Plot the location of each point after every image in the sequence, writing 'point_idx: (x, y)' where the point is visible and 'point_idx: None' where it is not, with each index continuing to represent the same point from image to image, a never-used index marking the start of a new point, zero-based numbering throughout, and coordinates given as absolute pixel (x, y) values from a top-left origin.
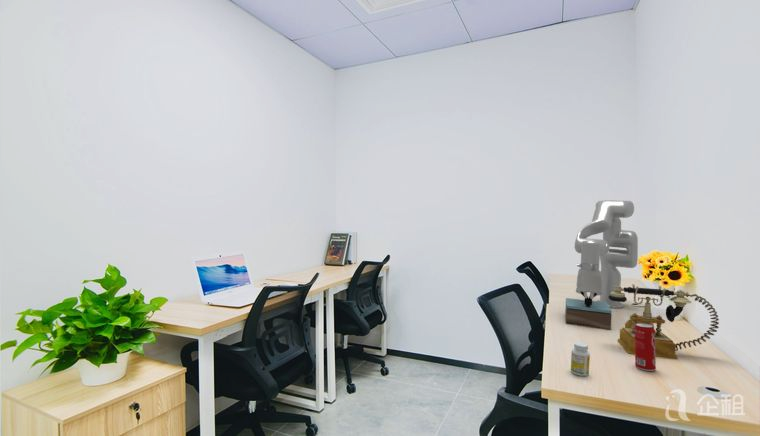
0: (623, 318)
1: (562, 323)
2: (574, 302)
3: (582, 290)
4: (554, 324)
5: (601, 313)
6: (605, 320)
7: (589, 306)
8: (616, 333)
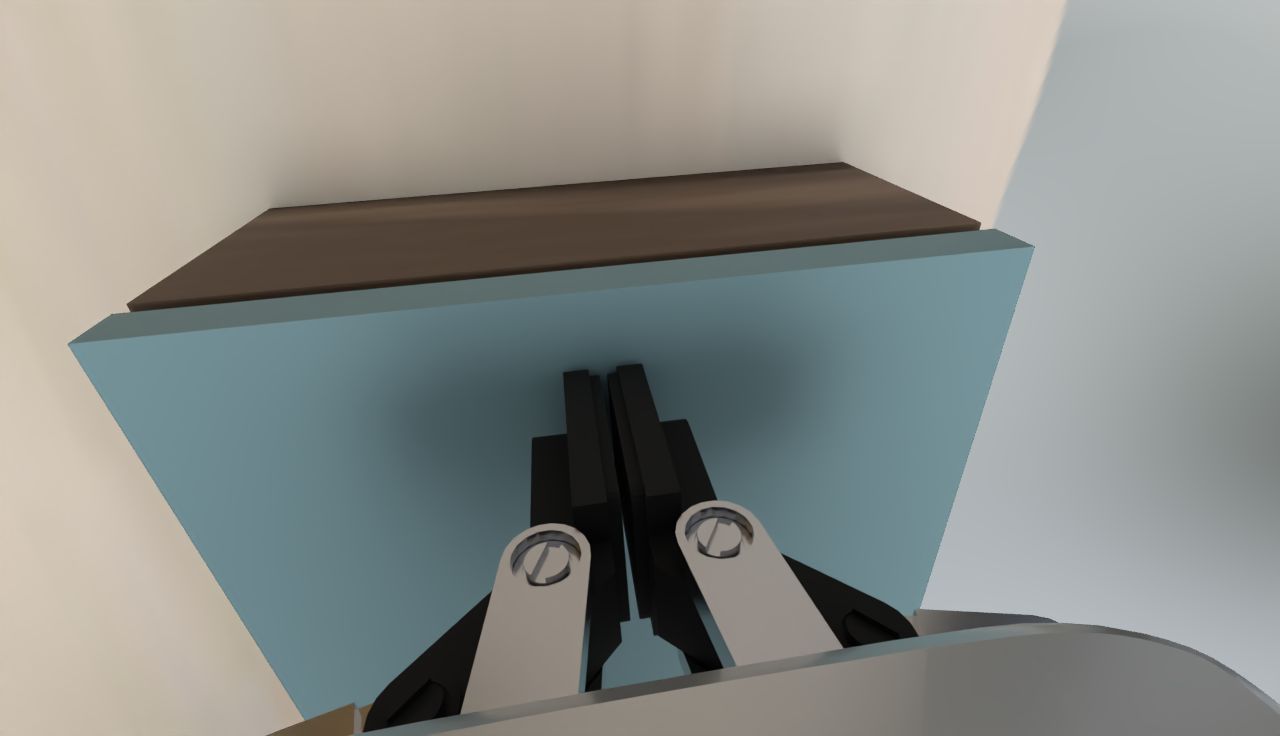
0: (274, 698)
1: (884, 156)
2: (821, 549)
3: (1015, 665)
4: (1007, 31)
5: (335, 284)
6: (300, 244)
7: (581, 372)
8: (145, 61)
